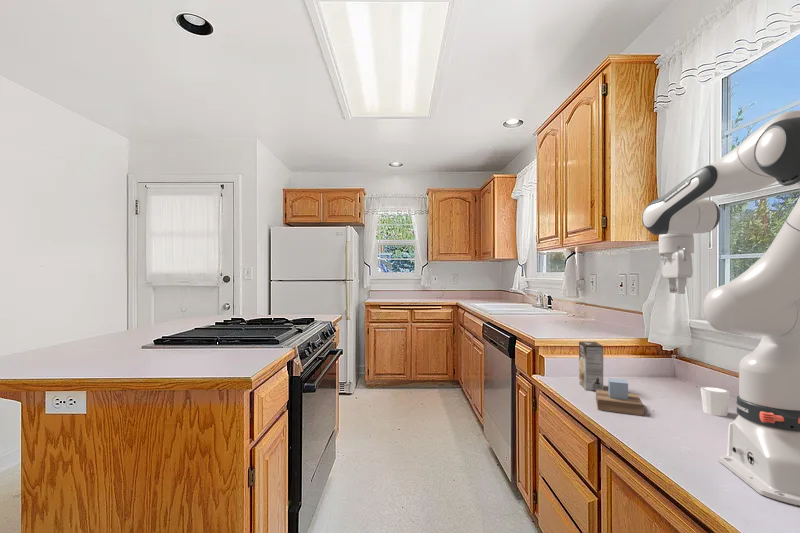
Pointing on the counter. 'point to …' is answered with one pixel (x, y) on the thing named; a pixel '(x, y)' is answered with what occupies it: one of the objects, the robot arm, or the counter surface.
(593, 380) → the coffee box
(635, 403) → the walnut plinth
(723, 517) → the counter surface
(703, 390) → the white cup
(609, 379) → the slate block
